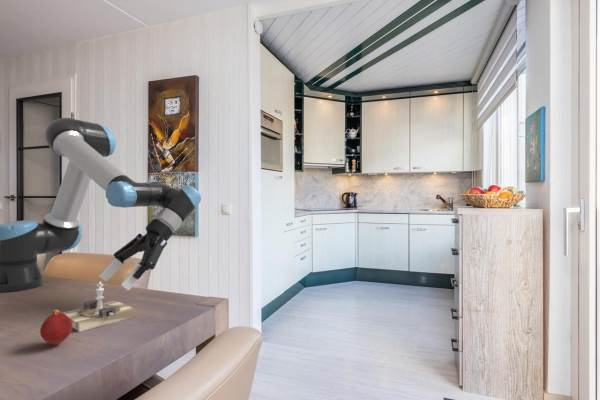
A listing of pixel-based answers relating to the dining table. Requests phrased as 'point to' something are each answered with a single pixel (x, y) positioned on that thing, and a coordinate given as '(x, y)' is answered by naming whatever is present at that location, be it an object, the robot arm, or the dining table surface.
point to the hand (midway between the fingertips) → (112, 283)
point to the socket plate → (87, 320)
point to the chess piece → (99, 298)
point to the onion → (56, 328)
